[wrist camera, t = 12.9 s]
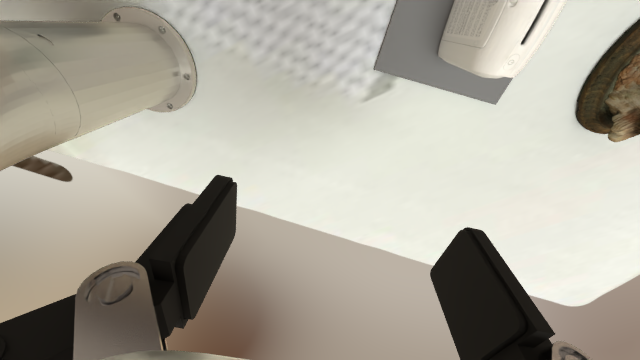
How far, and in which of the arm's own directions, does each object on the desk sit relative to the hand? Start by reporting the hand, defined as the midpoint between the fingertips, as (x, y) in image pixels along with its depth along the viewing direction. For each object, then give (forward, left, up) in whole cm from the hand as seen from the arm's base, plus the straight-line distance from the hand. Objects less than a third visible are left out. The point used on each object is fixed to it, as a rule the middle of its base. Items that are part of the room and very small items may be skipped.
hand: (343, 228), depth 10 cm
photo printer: (+10, +11, -26) cm, 30 cm away
